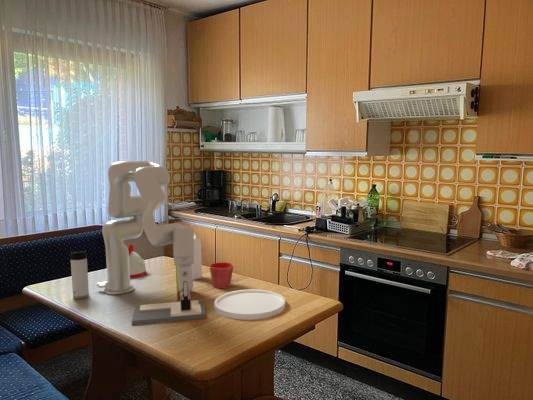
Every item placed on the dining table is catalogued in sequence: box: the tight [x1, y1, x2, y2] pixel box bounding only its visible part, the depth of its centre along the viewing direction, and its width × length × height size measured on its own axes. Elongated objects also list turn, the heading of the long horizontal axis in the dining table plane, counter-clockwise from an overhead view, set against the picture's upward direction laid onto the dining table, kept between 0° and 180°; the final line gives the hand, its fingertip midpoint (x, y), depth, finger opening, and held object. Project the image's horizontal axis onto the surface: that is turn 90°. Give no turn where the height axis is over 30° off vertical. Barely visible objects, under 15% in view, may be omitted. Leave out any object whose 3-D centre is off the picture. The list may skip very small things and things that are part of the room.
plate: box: [213, 288, 286, 321], centre depth 168 cm, size 28×28×2 cm
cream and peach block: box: [171, 291, 202, 317], centre depth 158 cm, size 11×8×7 cm
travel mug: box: [69, 250, 90, 300], centre depth 180 cm, size 6×7×20 cm
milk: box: [192, 233, 203, 281], centre depth 205 cm, size 6×6×22 cm
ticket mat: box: [131, 299, 207, 326], centre depth 160 cm, size 26×15×2 cm, turn 102°
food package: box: [175, 265, 191, 302], centre depth 179 cm, size 15×1×20 cm, turn 168°
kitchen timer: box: [127, 244, 147, 279], centre depth 213 cm, size 14×14×15 cm
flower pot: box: [208, 261, 234, 289], centre depth 193 cm, size 11×11×10 cm
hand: (185, 307), depth 158 cm, fingers closed on cream and peach block, 3 cm apart
